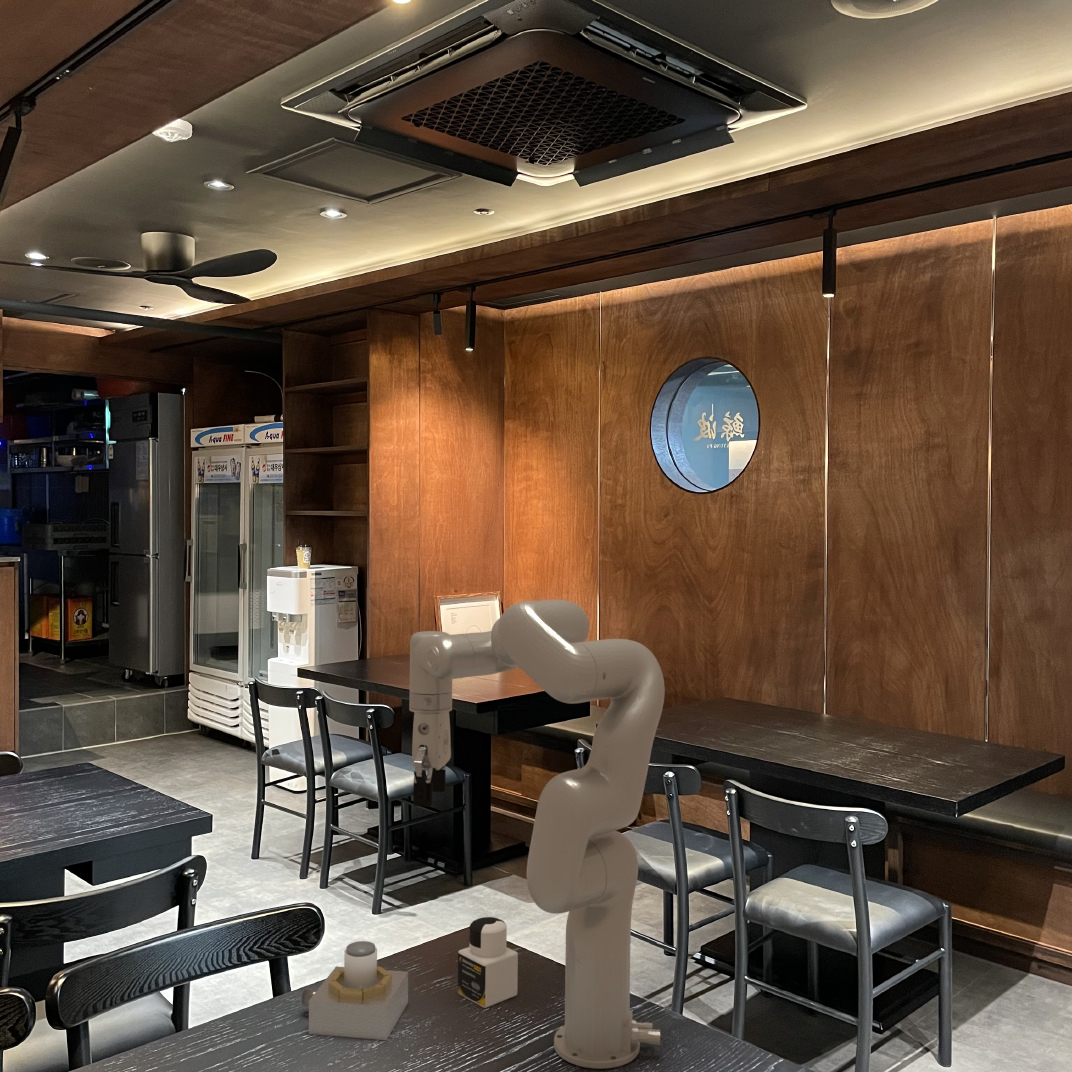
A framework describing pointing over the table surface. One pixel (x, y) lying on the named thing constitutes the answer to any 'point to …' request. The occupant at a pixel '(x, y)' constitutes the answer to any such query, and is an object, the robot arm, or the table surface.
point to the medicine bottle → (487, 964)
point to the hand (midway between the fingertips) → (429, 798)
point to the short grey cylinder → (360, 965)
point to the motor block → (357, 1005)
